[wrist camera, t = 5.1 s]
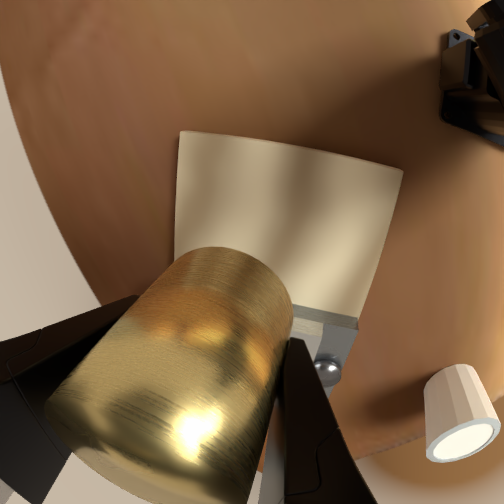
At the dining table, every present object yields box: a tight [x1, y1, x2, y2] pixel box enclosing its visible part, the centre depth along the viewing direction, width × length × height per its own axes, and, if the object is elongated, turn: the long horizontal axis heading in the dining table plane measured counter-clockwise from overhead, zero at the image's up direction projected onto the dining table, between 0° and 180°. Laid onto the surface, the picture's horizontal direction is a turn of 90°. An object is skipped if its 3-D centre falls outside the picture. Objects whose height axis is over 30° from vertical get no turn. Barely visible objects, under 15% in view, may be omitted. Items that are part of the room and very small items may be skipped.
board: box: [174, 131, 403, 319], centre depth 23 cm, size 14×22×1 cm, turn 173°
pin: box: [44, 246, 293, 504], centre depth 7 cm, size 4×4×6 cm
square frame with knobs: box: [290, 304, 358, 398], centre depth 23 cm, size 14×9×4 cm, turn 83°
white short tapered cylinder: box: [424, 364, 501, 463], centre depth 20 cm, size 7×7×7 cm
